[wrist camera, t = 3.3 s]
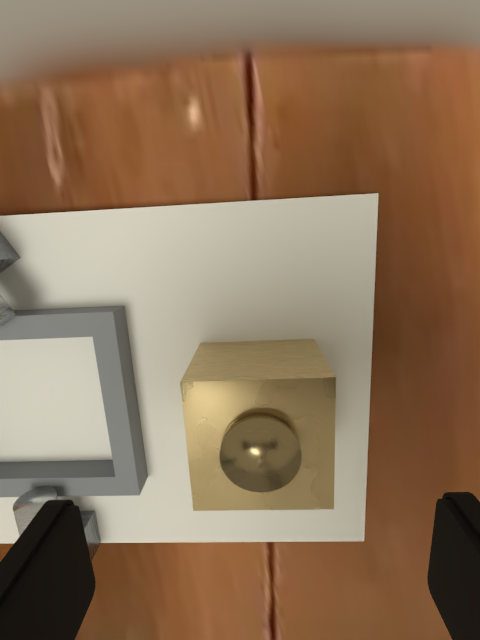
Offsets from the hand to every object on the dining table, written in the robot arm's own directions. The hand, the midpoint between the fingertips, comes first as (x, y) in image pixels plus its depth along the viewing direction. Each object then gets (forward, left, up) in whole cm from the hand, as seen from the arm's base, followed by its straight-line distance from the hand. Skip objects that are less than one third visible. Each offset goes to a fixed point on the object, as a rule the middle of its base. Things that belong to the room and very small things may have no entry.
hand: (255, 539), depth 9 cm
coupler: (-1, 0, -10) cm, 10 cm away
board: (+4, +5, -11) cm, 13 cm away
